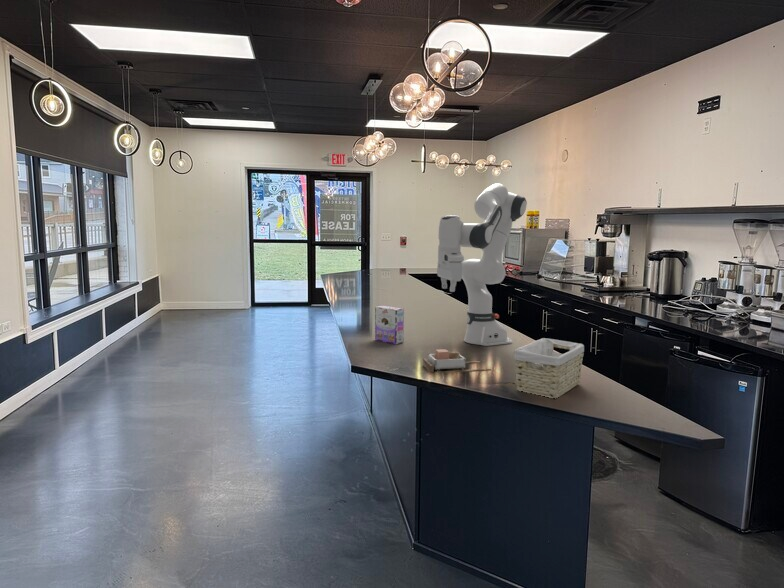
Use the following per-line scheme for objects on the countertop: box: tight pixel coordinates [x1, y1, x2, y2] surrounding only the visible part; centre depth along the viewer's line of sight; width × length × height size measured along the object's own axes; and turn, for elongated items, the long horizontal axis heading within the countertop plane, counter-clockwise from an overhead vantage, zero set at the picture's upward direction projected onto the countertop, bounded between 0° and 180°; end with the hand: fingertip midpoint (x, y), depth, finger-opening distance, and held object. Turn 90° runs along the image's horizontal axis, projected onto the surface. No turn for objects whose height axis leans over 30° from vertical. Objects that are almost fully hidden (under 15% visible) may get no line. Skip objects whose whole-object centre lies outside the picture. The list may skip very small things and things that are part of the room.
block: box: [434, 348, 450, 360], centre depth 196 cm, size 4×4×5 cm
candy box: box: [374, 305, 405, 345], centre depth 243 cm, size 14×6×16 cm, turn 47°
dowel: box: [449, 351, 460, 359], centre depth 197 cm, size 4×4×4 cm
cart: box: [427, 353, 467, 372], centre depth 196 cm, size 12×9×5 cm
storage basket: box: [514, 337, 585, 400], centre depth 178 cm, size 24×16×15 cm
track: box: [422, 358, 492, 374], centre depth 197 cm, size 24×13×4 cm, turn 103°
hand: (448, 290), depth 208 cm, fingers open, 8 cm apart
